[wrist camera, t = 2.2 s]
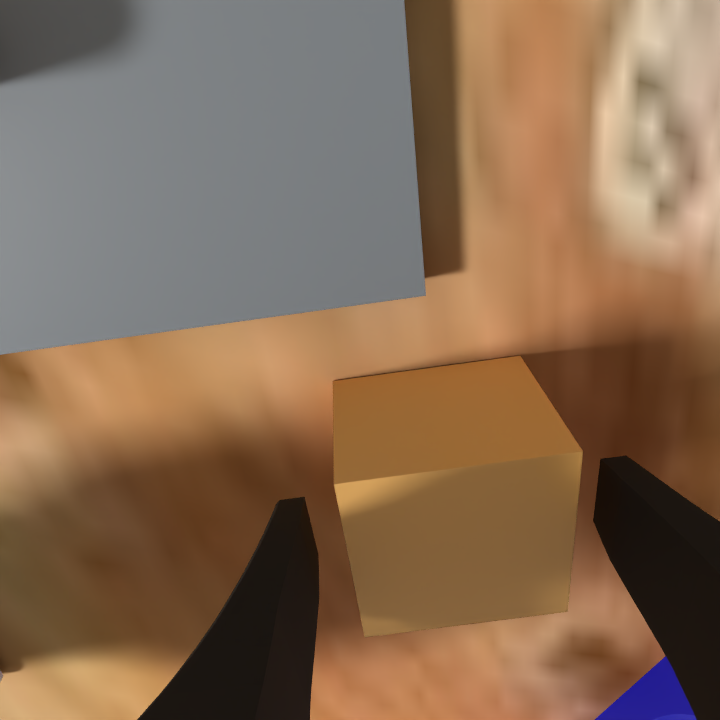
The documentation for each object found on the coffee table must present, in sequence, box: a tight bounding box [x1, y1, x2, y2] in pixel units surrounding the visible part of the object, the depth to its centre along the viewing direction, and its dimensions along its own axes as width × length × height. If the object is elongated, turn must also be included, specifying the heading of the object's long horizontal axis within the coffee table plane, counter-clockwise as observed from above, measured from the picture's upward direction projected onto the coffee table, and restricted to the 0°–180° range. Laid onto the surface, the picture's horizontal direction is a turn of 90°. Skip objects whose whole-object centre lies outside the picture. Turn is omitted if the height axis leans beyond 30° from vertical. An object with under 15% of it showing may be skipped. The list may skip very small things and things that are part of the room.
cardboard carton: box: [333, 356, 583, 637], centre depth 14 cm, size 5×5×4 cm
